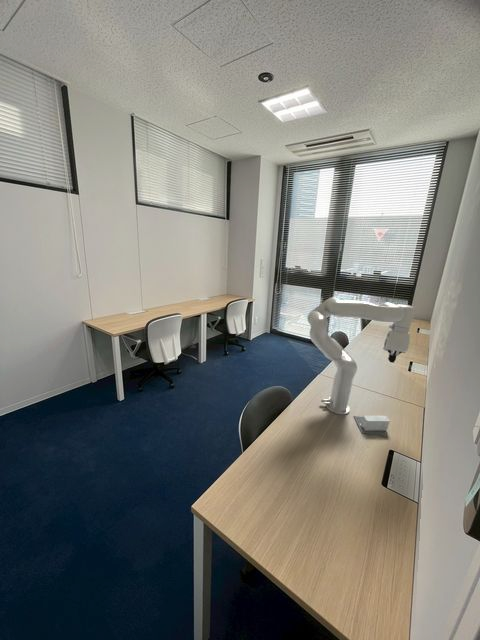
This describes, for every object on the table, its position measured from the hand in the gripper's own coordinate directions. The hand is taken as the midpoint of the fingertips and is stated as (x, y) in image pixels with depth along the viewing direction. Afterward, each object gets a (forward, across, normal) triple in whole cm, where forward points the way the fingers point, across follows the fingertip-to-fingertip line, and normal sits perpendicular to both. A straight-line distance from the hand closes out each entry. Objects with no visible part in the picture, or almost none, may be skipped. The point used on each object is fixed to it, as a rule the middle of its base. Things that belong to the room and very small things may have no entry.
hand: (391, 361), depth 138 cm
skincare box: (+28, -1, -15) cm, 32 cm away
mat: (+31, -8, -15) cm, 36 cm away
